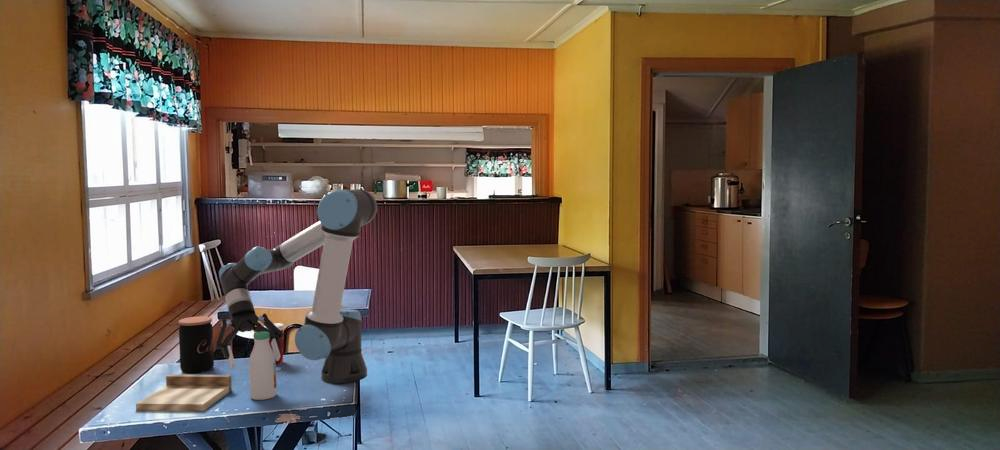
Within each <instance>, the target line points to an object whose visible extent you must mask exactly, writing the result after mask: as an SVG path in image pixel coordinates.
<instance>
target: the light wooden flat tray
mask: <svg viewBox="0 0 1000 450" xmlns="http://www.w3.org/2000/svg"><path fill="white" fill-rule="evenodd" d="M165 381H166V382H165V384H166V385H165V386H163V387H161V388H160V389H158V390H156V391H154V392H153V393H151V394H149V395H148V396H146V397H145V398H143V399H141V400H139V401H138V402H136V403H135V410H136V411H159V412H160V411H165V412H166V411H171V412H172V411H174V412H177V411H178V412H180V411H181V412H204V411H206V410H207V409H208V408H210V407H211V406H213V405H214V404H215V403H216V402H218V401H220V399H222V398H224V397H225V396H226V395H227V394H229V393H230V392H232V390H233V389H232V388H233V387H232V374H180V373H179V374H176V373H175V374H173V373H172V374H167V375H166V376H165Z"/></svg>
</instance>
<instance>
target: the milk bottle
mask: <svg viewBox="0 0 1000 450" xmlns="http://www.w3.org/2000/svg"><path fill="white" fill-rule="evenodd" d="M269 337H270V335H269V332H266V331H262V332H254V333H253V341H254V345H253V347H252V351H251V352H250V356H249V360H248V368H249V369H248V374H249V377H248V378H249V379H248V380H249V396H250V399H252V400H255V401H263V400H265V401H266V400H270V399H272V398H274V397H276V396H277V369H276V368H277V365H276V363H275V355H274V353H273V351H272V349H271V347H270V344H269V339H270V338H269Z"/></svg>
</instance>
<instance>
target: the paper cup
mask: <svg viewBox="0 0 1000 450" xmlns="http://www.w3.org/2000/svg"><path fill="white" fill-rule="evenodd" d="M272 323H273V324H274V325H275V326H276V327H277V328H278V329H279V330H280V331H281V332H282V333H283V337H282V339H281V340H279V342H280V350H279V352H280V358H279V361H276V358H275V363H276V366H277V364H279V365H281V364H280V363H282V362H284V343H285V341H284V338H285V335H284V334H285V328H286V327H285V326H284V324H283V323H279V322H277V323H275V322H272ZM263 325H264V324H263ZM263 327H265V328H267V327H266V326H265V325H264V326H263ZM267 329H268V328H267ZM268 330H269V329H268ZM271 342H272V341H271V340H270V339H269V344H270V347H271V349H272V351H273V348H272V345H271ZM273 353H274V352H273ZM282 364H283V363H282Z"/></svg>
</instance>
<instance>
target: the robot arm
mask: <svg viewBox="0 0 1000 450" xmlns="http://www.w3.org/2000/svg"><path fill="white" fill-rule="evenodd" d="M316 212H317V218H318V219H319V221H317V222H315V223H314V224H312V225H310V226H309V227H307V228H305V229H304V230H302V231H300V232H298V233H297V234H295V235H293V236H292V237H289V239H287V240H286V241H284V242H282V243H280V244H279V245H277V246H276V247H274V248H271V249H267V248H265V247H264V246H263V247H261V246H259V245H258V246H255V247H254V246H253V248H251V250H249V251H248V252H246V254H245V255H244V256H243V257H242V258H241V259H240V260H238V261H237V262H229V263H227V264H225V265H222V266H221V267H220V269H219V271H218V276H219V277H218V278H219V283H220V285H221V289H222V292H223V295H224V298H225V303H226V306H227V311H228V315H229V318H230V319H226V318H223V319H222V320H221V323H220V332H219V334H218V336H217V337H218V338H217V340H216V342H215V348H214V349H215V350H217V351H218V350H221V352H222V355H223V357H224V359H225V360H226V359H227V360H228V364H229V367H230V369H231V370H234V368H235V365H236V362H235V359H234V354H233V351H232V346H231V345H230V344H231V342H233V340H234V338H235V337H236V335H237V334H238V333H239V332H241V333H245V332H252V331H254V333H256V332H262V331H266V332H269V335H270V337H269V338H270V340H271V341H272V342H271V345H272V348H273V352H274V355H275V358H276V361H279V358H280V352H279V350H280V342H279V340H281V339H282V337H283V333H282V332H281V331H280V330H279V329H278V328H277V327H276V326H275V325H274V324H273V323H274V322H272V321H271V319H269V317H268V315H267V313H263V314H262V315H259V316H258V315H257V314H256V311H255V308H254V304H253V300H252V296H251V294H250V291H249V284H250V283H252V282H253V281H254V280H255V279H256V278H257V277H258V276H260V275H262V274H263V275H264V274H268V273H272V272H273V273H274V272H277V271H283V270H286V269H289V268H291V267H292V266H293V264H294V263H295V262H296V261H298V260H300V259H302V258H303V257H305V256H306V255H308V254H311V253H312V252H314V251H315V250H317V249H319V248H320V247H322V252H321V255H320V262H319V269H318V274H317V280H316V284H315V285H316V286H315V291H314V297H313V300H312V301H313V302H312V306H311V309H309V310H307V312H306V313H305V317H304V323H303V325H302V326H300V327H299V328H298V329H297V330H296V332H295V335H294V344H295V348H296V349H297V350H298V352H299V354H300V355H301V356H302V357H304V358H305V359H307V360H309V361H310V360H311V361H319V360H322V359H324V362H323V365H322V369H321V373H320V375H321V376H320V377H321V380H322V381H323V382H326V383H329V384H330V383H331V384H349V383H354V382H358V381H361V380H363V379H365V378H366V377H367V376H368V368H367V365H366V361H365V359H364V356H363V352H362V315H361V312H360V311H359V310H357V309H352V308H351V309H350V308H349V309H348V308H342V307H341V306H342V301H343V296H344V291H345V287H346V286H345V285H346V279H347V276H348V270H349V264H350V258H351V253H352V249H353V243H354V240H356V239H357V238H359V237H360V232H361V228H362V227H363V226H365V225H367V224H369V223H370V222H372V221H373V219H375V217H376V214H377V212H378V203H377V200H376V198H375V196H373V195H372V194H371V193H370V192H369V191H367V190H364V189H357V188H355V189H336V190H332V191H329V192H328V193H326V194H324V195H323V197H322V198H321V199H320V200H319V203H318V206H317V210H316ZM262 324H263V325H265V326H266V327H267V328H268V329H269V330H268V329H267V328H265V327H264V326H263V325H262ZM229 325H230V326H231V327H233V329H232V331H231V332H230V333H229V335H228V336H227V337H226V339H225V340H224V342H222V341H223V339H224V336H225V332H226V330H227V328H229Z"/></svg>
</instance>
